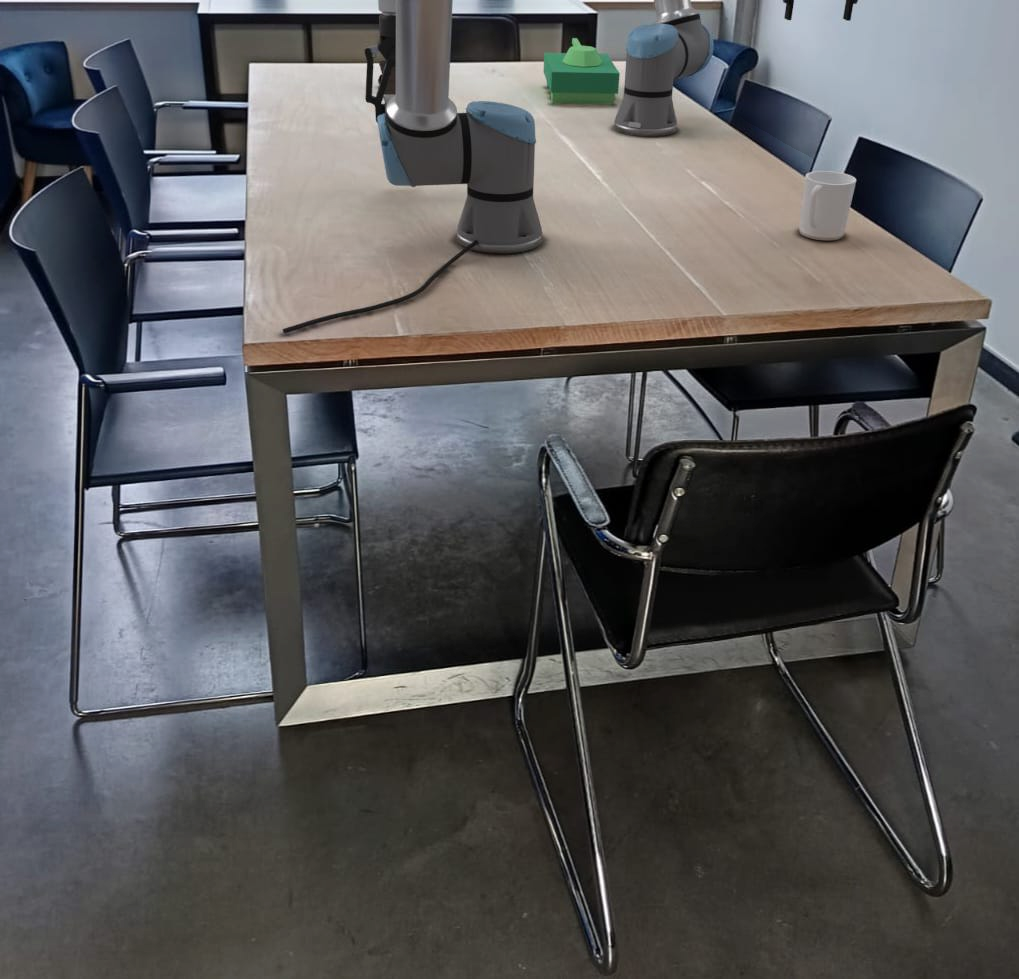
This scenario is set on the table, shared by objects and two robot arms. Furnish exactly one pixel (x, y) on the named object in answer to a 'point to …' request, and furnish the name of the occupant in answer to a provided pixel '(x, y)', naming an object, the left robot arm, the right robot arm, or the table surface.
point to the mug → (826, 204)
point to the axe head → (392, 79)
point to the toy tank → (581, 76)
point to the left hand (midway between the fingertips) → (403, 139)
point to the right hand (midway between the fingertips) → (817, 19)
